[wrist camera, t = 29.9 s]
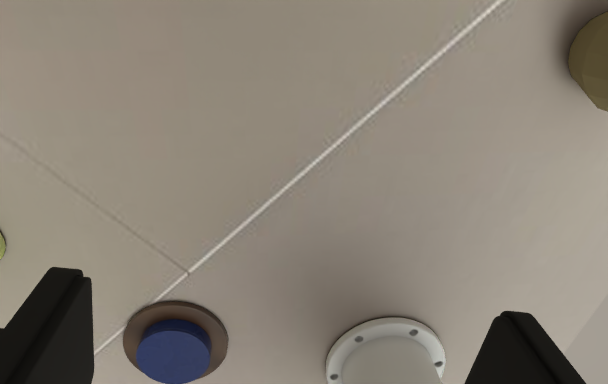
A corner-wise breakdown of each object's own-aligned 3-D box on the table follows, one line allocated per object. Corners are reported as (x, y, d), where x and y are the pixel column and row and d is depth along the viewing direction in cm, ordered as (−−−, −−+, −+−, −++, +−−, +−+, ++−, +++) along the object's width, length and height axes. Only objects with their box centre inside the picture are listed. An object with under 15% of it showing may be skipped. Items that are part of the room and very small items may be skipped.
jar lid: (165, 306, 41) (162, 318, 40) (226, 339, 44) (224, 351, 42) (126, 351, 43) (121, 364, 42) (186, 381, 46) (183, 394, 44)
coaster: (207, 387, 47) (207, 392, 47) (112, 362, 45) (110, 367, 44) (243, 318, 43) (242, 323, 43) (141, 288, 41) (139, 292, 40)
